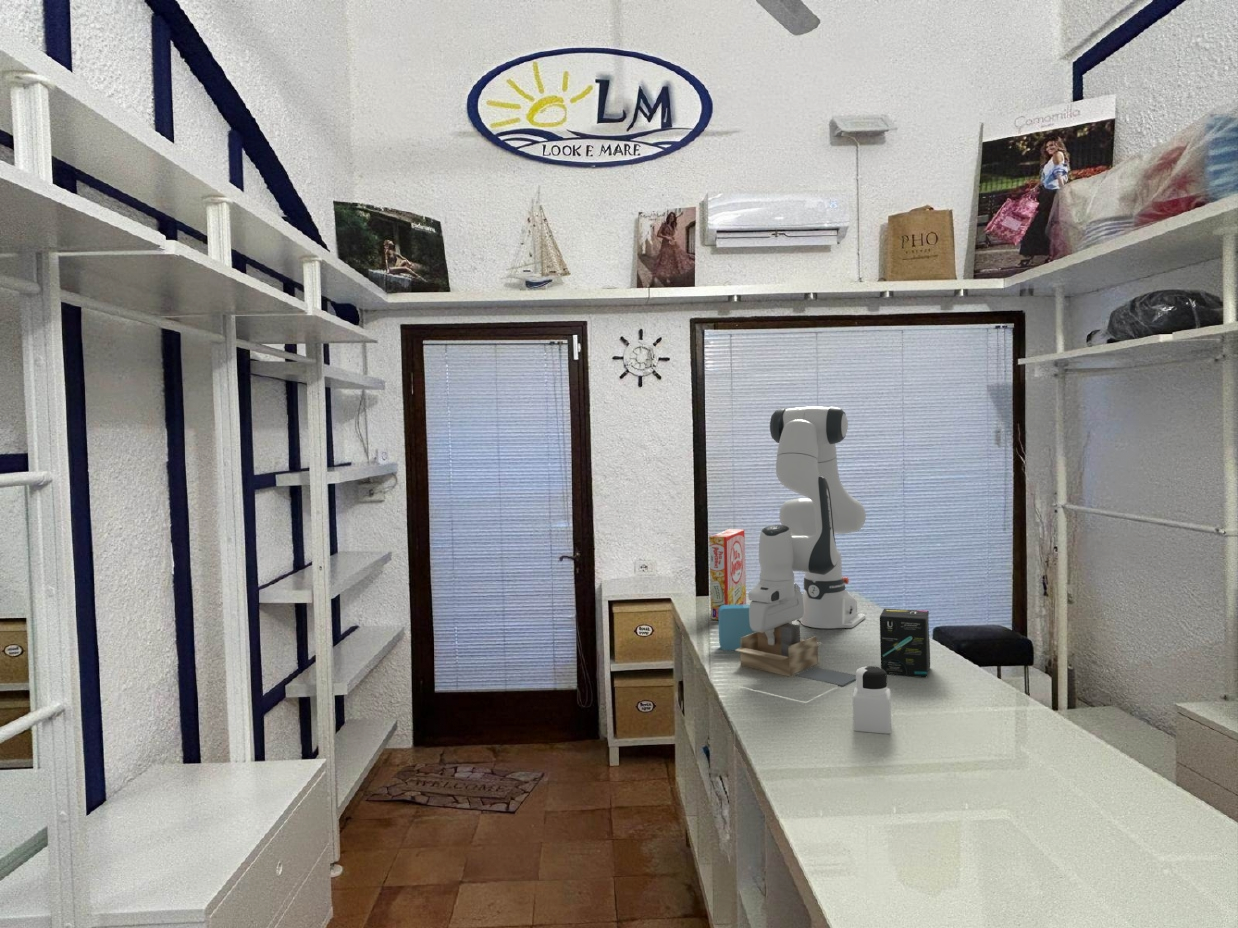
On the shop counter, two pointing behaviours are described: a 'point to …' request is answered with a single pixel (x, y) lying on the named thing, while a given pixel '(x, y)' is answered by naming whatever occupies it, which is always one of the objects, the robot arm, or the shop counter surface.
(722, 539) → the popcorn box
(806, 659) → the carton
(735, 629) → the blue rounded block
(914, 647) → the tampon box
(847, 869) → the shop counter surface
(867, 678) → the medicine bottle
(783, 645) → the walnut box
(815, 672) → the mat
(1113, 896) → the shop counter surface
